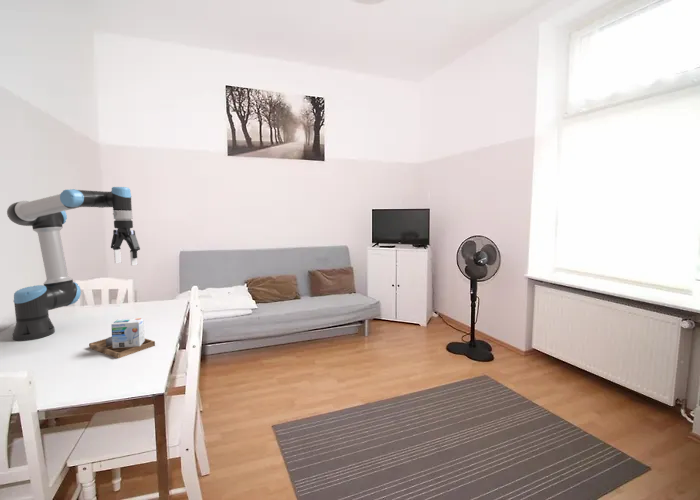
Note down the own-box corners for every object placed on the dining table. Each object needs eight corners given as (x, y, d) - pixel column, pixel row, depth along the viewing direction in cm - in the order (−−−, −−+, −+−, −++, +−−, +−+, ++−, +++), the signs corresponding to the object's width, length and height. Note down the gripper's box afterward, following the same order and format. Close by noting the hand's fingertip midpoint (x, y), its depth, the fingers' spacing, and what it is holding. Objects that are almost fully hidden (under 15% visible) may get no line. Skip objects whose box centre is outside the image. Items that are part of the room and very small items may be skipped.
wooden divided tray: (89, 348, 152) (88, 343, 152) (126, 337, 166) (126, 332, 165) (118, 359, 141) (117, 353, 141) (155, 346, 155) (154, 341, 155)
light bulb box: (112, 348, 146) (110, 324, 145) (118, 343, 152) (116, 319, 151) (140, 346, 149) (139, 322, 148) (145, 340, 155) (143, 317, 154)
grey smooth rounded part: (102, 345, 155) (102, 339, 154) (119, 340, 161) (119, 334, 160) (111, 348, 151) (111, 342, 151) (128, 343, 157) (127, 337, 157)
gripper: (100, 219, 168) (103, 263, 170) (130, 220, 156) (133, 267, 158) (116, 219, 174) (119, 261, 176) (146, 220, 162) (149, 264, 165)
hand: (126, 264), depth 167 cm, fingers open, 13 cm apart
